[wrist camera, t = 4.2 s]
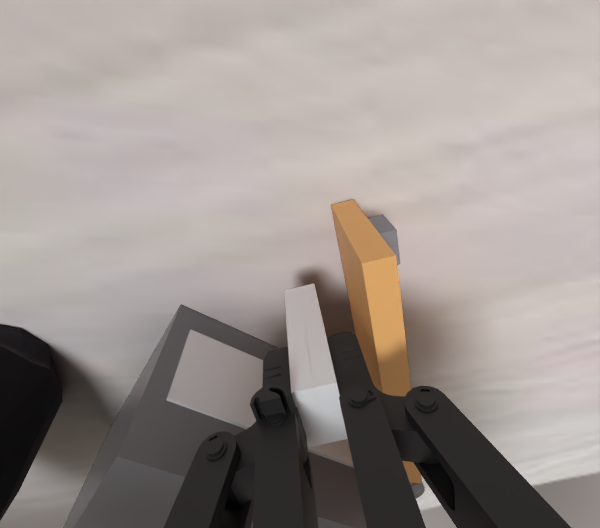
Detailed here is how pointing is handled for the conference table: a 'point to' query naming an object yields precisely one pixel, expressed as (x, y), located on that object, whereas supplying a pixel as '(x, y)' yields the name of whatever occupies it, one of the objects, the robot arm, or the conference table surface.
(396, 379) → the side door
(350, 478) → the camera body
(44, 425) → the portable speaker
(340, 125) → the conference table surface
